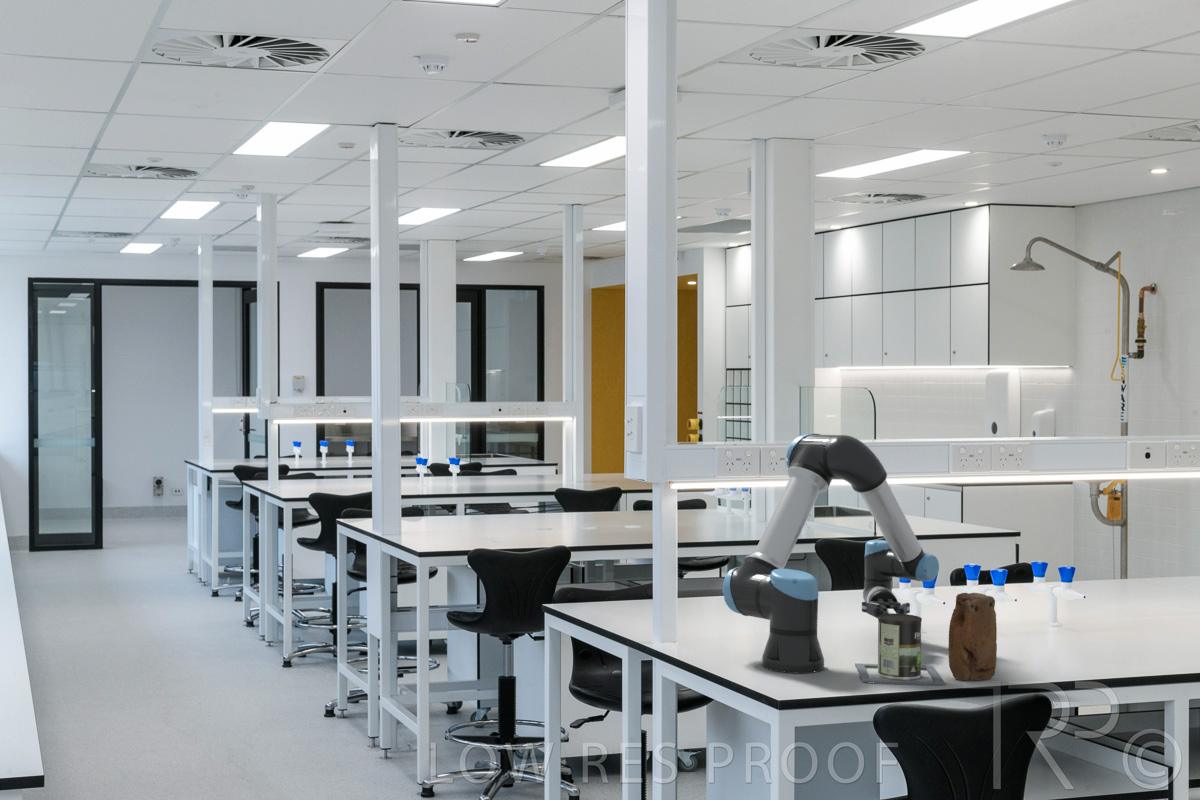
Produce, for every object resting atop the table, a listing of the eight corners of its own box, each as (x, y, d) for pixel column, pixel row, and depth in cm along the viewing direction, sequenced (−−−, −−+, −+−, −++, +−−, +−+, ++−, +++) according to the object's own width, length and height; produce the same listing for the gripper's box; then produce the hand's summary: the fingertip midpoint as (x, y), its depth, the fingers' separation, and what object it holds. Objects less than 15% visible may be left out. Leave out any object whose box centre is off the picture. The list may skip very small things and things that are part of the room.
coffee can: (922, 672, 295) (923, 614, 295) (919, 682, 285) (920, 622, 285) (879, 669, 298) (879, 612, 298) (874, 678, 288) (875, 619, 288)
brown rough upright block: (975, 672, 295) (976, 590, 295) (999, 679, 289) (1000, 595, 289) (943, 677, 290) (944, 593, 290) (967, 683, 283) (968, 598, 283)
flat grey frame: (862, 682, 283) (862, 680, 283) (855, 665, 302) (855, 663, 302) (946, 686, 281) (946, 683, 281) (933, 668, 300) (933, 666, 300)
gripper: (906, 616, 331) (919, 634, 307) (858, 615, 332) (867, 632, 309) (906, 589, 331) (919, 604, 307) (858, 588, 332) (867, 603, 309)
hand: (893, 618), depth 308 cm, fingers closed
